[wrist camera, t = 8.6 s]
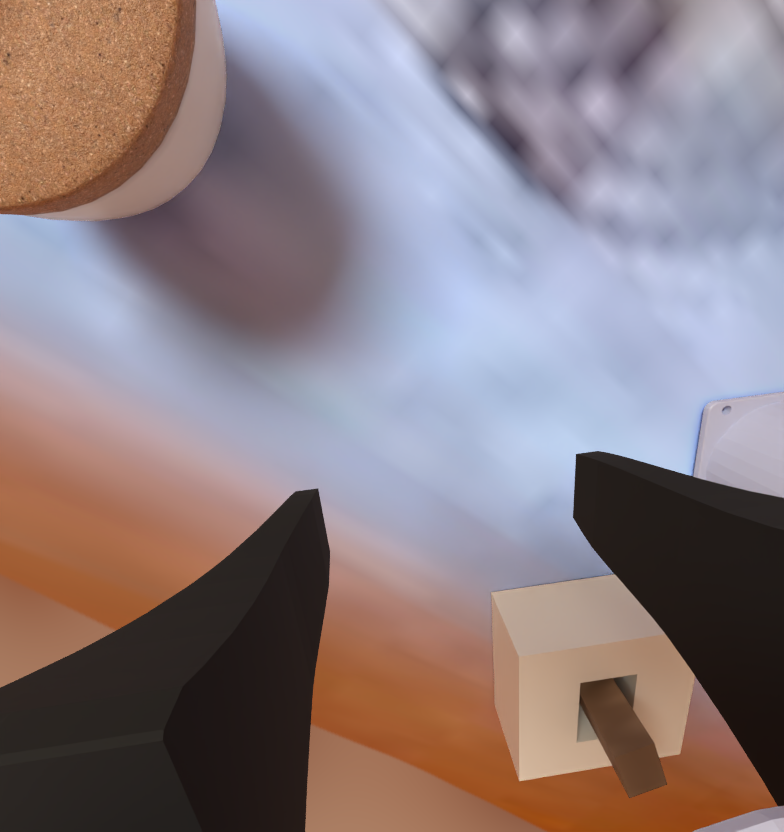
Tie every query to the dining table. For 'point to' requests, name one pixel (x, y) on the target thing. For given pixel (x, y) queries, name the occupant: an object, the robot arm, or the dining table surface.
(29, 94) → the lidded jar
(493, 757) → the dining table surface
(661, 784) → the brown rectangular block
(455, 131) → the dining table surface
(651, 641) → the cream square hole block
